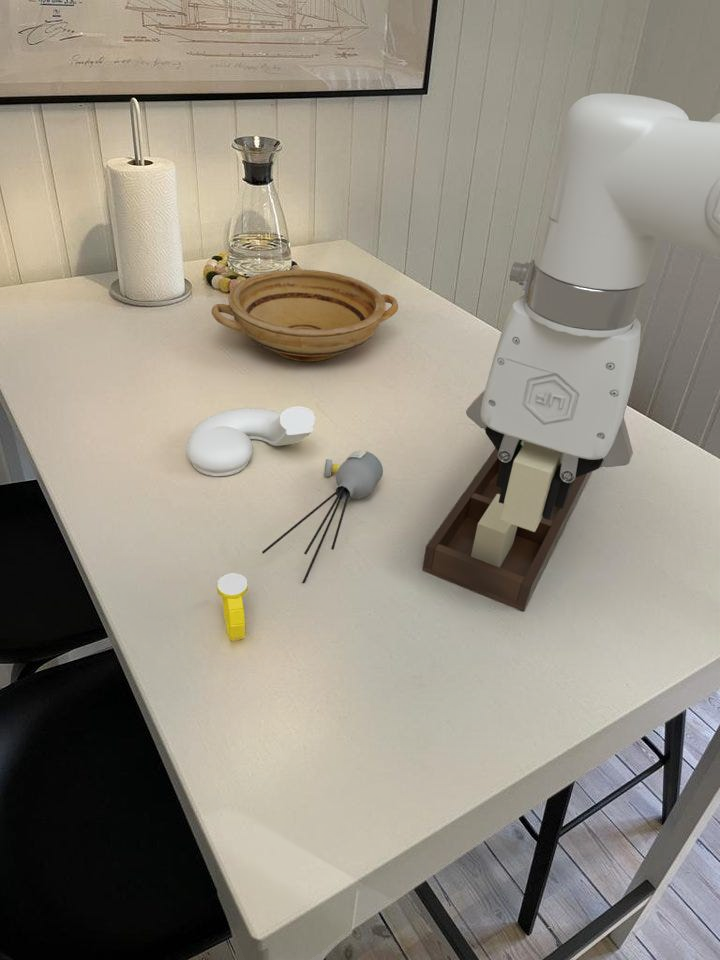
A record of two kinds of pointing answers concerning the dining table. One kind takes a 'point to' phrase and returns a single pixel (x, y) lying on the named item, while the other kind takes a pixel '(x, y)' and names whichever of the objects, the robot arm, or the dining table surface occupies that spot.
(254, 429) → the sculpture
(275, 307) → the ceramic bowl
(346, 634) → the dining table surface
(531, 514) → the cream rectangular block
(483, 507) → the tray
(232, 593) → the watch
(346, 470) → the reed diffuser
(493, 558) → the block
